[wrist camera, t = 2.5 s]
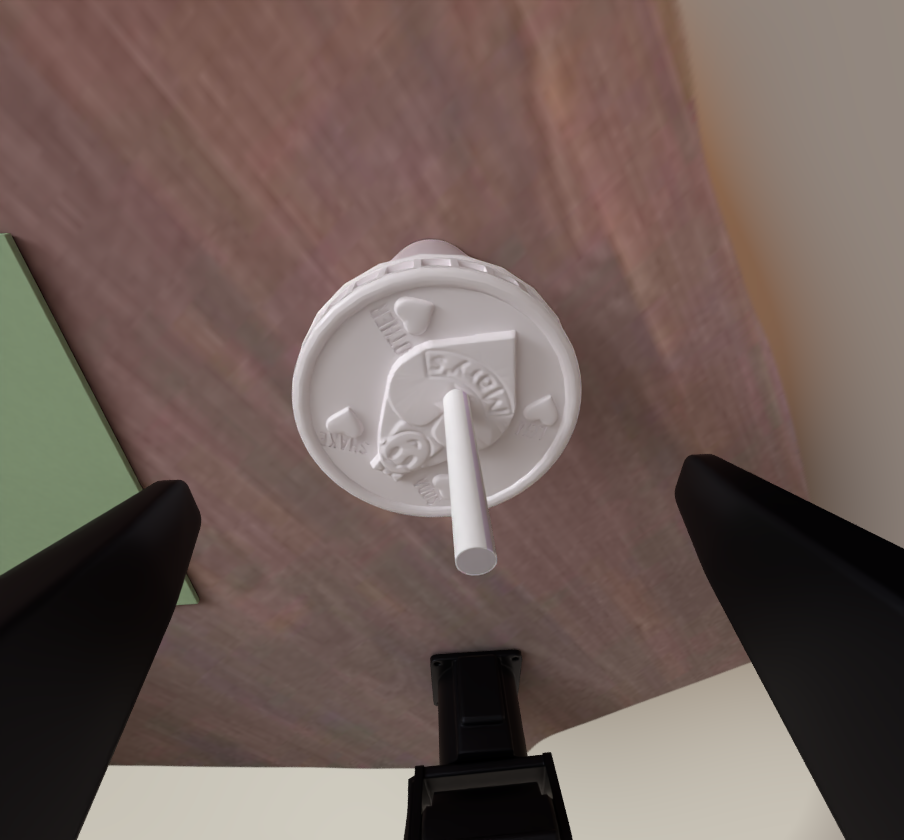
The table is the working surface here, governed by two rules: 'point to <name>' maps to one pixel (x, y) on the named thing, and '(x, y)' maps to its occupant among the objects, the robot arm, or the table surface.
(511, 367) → the smoothie
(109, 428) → the green cloth
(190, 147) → the table surface
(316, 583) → the table surface
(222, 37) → the table surface
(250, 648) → the table surface
